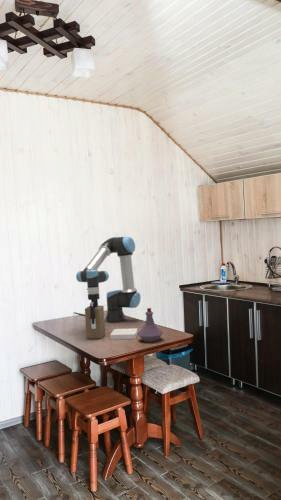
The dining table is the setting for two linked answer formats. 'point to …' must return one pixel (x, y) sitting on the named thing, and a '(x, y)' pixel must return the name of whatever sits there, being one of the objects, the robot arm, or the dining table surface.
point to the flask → (150, 329)
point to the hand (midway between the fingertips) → (95, 326)
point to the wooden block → (100, 325)
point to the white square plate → (124, 334)
